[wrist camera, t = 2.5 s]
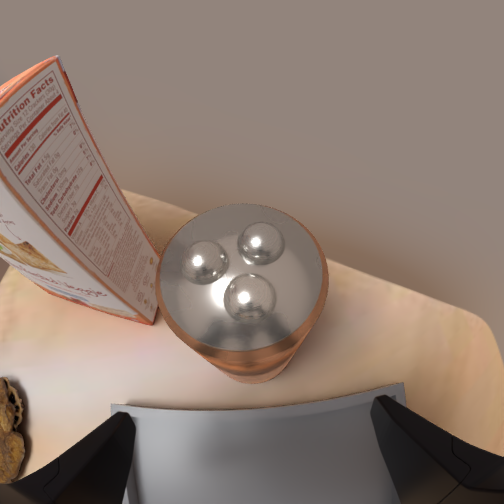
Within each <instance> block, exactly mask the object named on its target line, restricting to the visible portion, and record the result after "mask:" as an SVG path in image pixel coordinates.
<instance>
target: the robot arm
mask: <svg viewBox="0 0 504 504" xmlns="http://www.w3.org/2000/svg"><path fill="white" fill-rule="evenodd" d="M370 416H371V419H372V423H373V427H374V430H375V434H376V438H377V442H378V445H379V448H380V451H381V454H382V456H383V459H384V461H385V464H386V466H387V469H388V471H389V474H390V476H391V479H392V481H393V484H394V487H395V489H396V492H397V494H398V497H399V500H400V502H401V504H504V457H502V456H499V455H496V454H493V453H491V452H488V451H485V450H483V449H480V448H478V447H475V446H473V445H471V444H468V443H466V442H465V441H463V440H461V439H459V438H457V437H455V436H454V435H451V434H450V433H448V432H447V431H445V430H443V429H441V428H440V427H438V426H436V425H435V424H433V423H431V422H430V421H428V420H426V419H425V418H423V417H421V416H420V415H418V414H416V413H415V412H413V411H411V410H410V409H408V408H407V407H405V406H403V405H402V404H400V403H399V402H397V401H395V400H394V399H392V398H391V397H389V396H388V395H385V394H383V395H379V396H376V397H375V398H374V400H373V403H372V407H371V410H370ZM135 436H136V425H135V423H134V422H133V420H132V418H131V416H130V414H129V413H128V412H123V411H118V412H116V413H115V414H114V415H112V416H111V417H110V418H109V419H107V420H106V421H105V422H104V423H102V424H101V425H100V426H98V427H97V428H96V429H95V430H93V431H92V432H91V433H89V434H88V435H87V436H85V437H84V438H83V439H81V440H80V441H79V442H77V443H76V444H75V445H73V446H72V447H71V448H69V449H68V450H67V451H65V452H64V453H63V454H61V455H60V456H59V457H57V458H56V459H54V460H53V461H52V462H50V463H49V464H47V465H46V466H44V467H42V468H41V469H39V470H37V471H36V472H34V473H32V474H30V475H28V476H26V477H24V478H22V479H20V480H18V481H16V482H13V483H6V484H5V483H0V504H122V503H123V498H124V494H125V489H126V485H127V481H128V477H129V472H130V468H131V464H132V459H133V451H134V443H135Z"/></svg>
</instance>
